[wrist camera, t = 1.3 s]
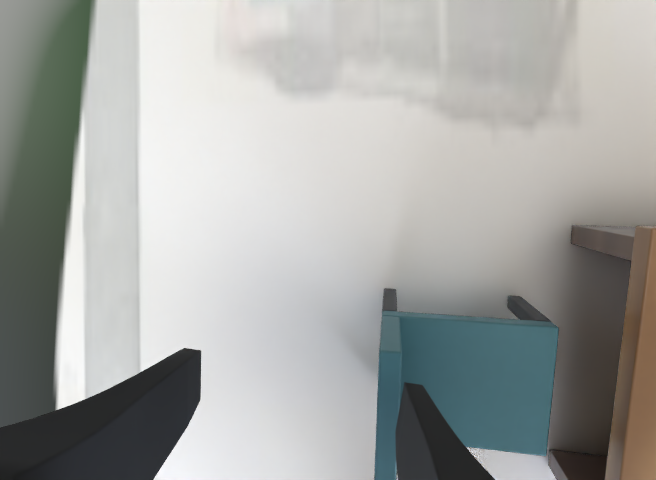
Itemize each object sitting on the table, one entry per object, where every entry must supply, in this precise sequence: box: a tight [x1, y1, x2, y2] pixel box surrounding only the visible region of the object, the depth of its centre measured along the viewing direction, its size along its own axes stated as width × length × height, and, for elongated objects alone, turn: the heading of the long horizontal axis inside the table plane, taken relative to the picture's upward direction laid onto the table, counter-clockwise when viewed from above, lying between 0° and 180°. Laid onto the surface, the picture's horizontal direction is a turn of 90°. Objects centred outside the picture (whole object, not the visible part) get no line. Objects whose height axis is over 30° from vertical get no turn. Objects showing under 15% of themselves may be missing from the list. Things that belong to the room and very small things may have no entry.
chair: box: [374, 289, 559, 480], centre depth 18 cm, size 8×6×9 cm
